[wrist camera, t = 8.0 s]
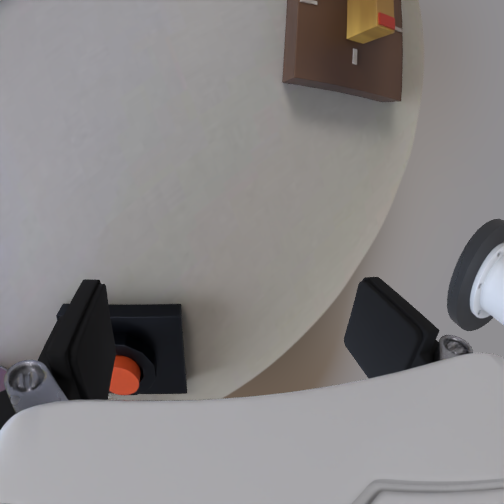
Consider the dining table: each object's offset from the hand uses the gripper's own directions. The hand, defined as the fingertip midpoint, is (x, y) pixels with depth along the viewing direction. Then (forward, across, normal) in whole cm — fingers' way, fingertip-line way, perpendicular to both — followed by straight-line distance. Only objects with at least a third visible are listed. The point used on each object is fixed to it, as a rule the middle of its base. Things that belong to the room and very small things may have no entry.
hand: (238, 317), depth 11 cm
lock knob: (+13, -10, -18) cm, 25 cm away
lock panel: (+16, -10, -18) cm, 27 cm away
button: (+13, +8, +14) cm, 21 cm away
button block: (+16, +8, +14) cm, 23 cm away
